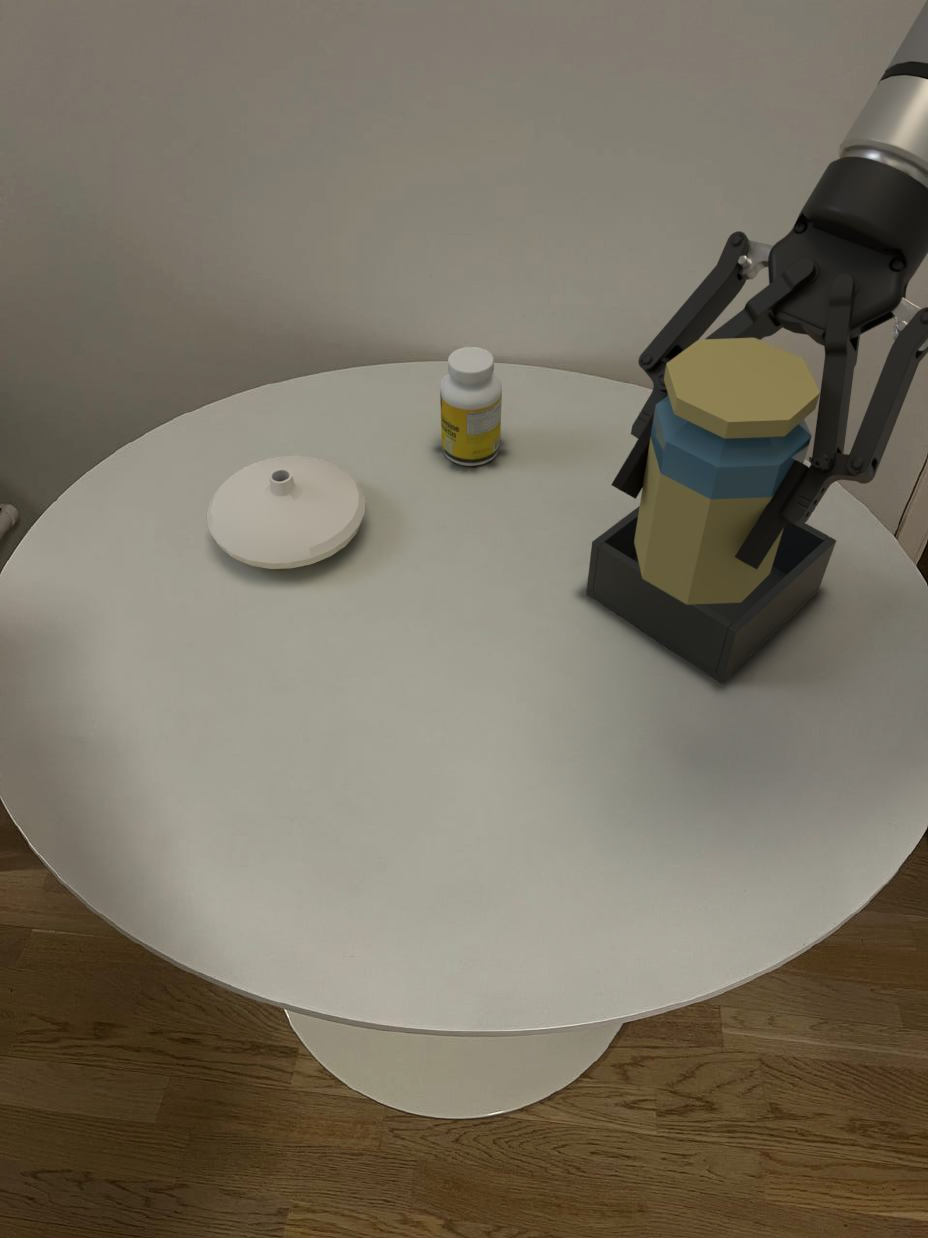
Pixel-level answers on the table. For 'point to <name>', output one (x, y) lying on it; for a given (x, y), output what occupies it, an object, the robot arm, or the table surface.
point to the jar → (719, 464)
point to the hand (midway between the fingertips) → (682, 526)
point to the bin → (708, 630)
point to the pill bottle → (470, 407)
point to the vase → (286, 512)
